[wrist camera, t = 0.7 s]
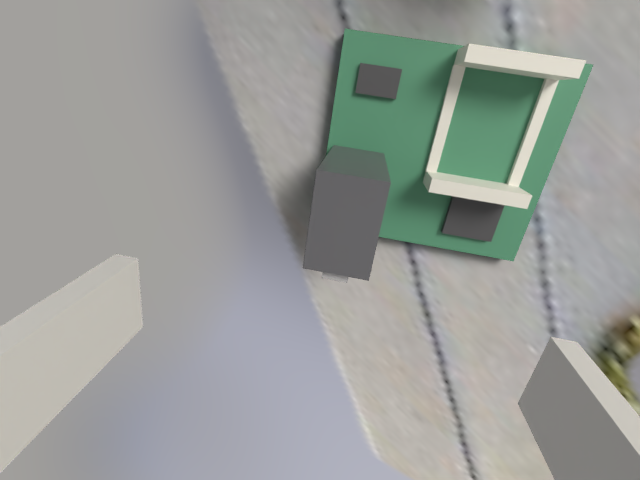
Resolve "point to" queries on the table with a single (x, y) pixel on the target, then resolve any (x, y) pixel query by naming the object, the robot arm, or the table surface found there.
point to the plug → (346, 213)
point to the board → (456, 134)
